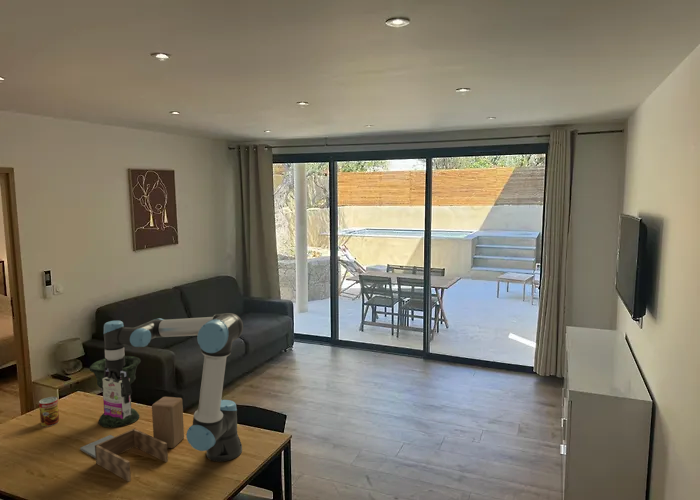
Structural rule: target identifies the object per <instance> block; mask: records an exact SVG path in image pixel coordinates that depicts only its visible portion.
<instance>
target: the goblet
mask: <svg viewBox="0 0 700 500" xmlns="http://www.w3.org/2000/svg"><path fill="white" fill-rule="evenodd" d="M124 357H125V366H123V372H126V371H127V372H128V378H130V385H132V384H133V383H134V382H135V380H136V378H137V377H136V376H137V375H136V372H137V368H138V366H139V365H140V363H141V361H142V360H141V358H139V357H137V356H133V355H124ZM105 360H106V358H105V357H104V358H102V359H99V360H97V361H95V362H93V363H92V364H91V365H90V366H89V371H90V372H92V373H93V375H94V377H95V378H96V381H97V382H96V384H97V387H99V388H101V389H102V390H103V387H102V379H103V375H104V367H106V364H105ZM131 412H132V415H130V416H128V417H126V418H124V419H121V418H116V417H111V416H107V415H104V412H103V413H101V415H100V416H99V419H98V424H99V425H100V426H101V427H102V428H103V427H104V428H119V427H124V426H127V425H130V424H133V423H135V422H137V421H138V420H139V419H140V414H139V412H138V411H137V410H136V409H135V408H133V407H131Z"/></svg>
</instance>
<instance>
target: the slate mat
mask: <svg viewBox="0 0 700 500" xmlns="http://www.w3.org/2000/svg"><path fill="white" fill-rule="evenodd" d="M113 437H115V436H114V435H111V434H109V435H107V436H104V437H102V438H99V439H97V440H95V441H92V442H90V443H88V444H85V445H83V446H81V447H80V448H79V450H80V451H82V452H83V453H86V454H87V455H89V456H91V457H92V458H95V459H96V455H95V445H97V444H99V443H102V442H104V441H106V440H109V439H111V438H113Z"/></svg>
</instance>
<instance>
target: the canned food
mask: <svg viewBox="0 0 700 500" xmlns="http://www.w3.org/2000/svg"><path fill="white" fill-rule="evenodd" d="M58 404H59V400H58V397H57V396H49V397H45V398H41V399H40V400H39V401H38V407H39V419H40V426H42V427H43V426H45V427H46V428H47V426H48V427H52V425H53V426H55V425H57V424H59V423H60V413H59V405H58ZM45 427H44V428H45Z"/></svg>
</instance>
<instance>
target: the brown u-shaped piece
mask: <svg viewBox="0 0 700 500" xmlns="http://www.w3.org/2000/svg"><path fill="white" fill-rule="evenodd" d="M133 448H136V449H137V450H141V451H142V452H145V453H146V454H148V455H150V456H153V457H154V458H157V459H159V460H161V461H163V462H165V463H167V462H168V461H169V457H168V448H167V443H165V442H163V441H161V440H159V439H156V438H154V436H153V435H150V434H147V433H145V432H143V431H141V430H138V429H136V428H132V429H129V430H128V431H125V432H123V433H121V434H119V435H116V436H114V437H113V438H111V439H109V440H106V441H104V442H102V443H99V444H97V445H95V455H96V458H95V463H96V464H97V465H98V466H99V467H101V468H103V469H105V470H107V471H109V472H111V473H113V474H114V475H116V476H117V477H119V478H121V479H123V480H124V481H126V482H131V481H132V477H131V462H130V460H128V459H125V458H124V457H122V456H120V454H122V453H124V452H127V451H129V450H130V449H133Z"/></svg>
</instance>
